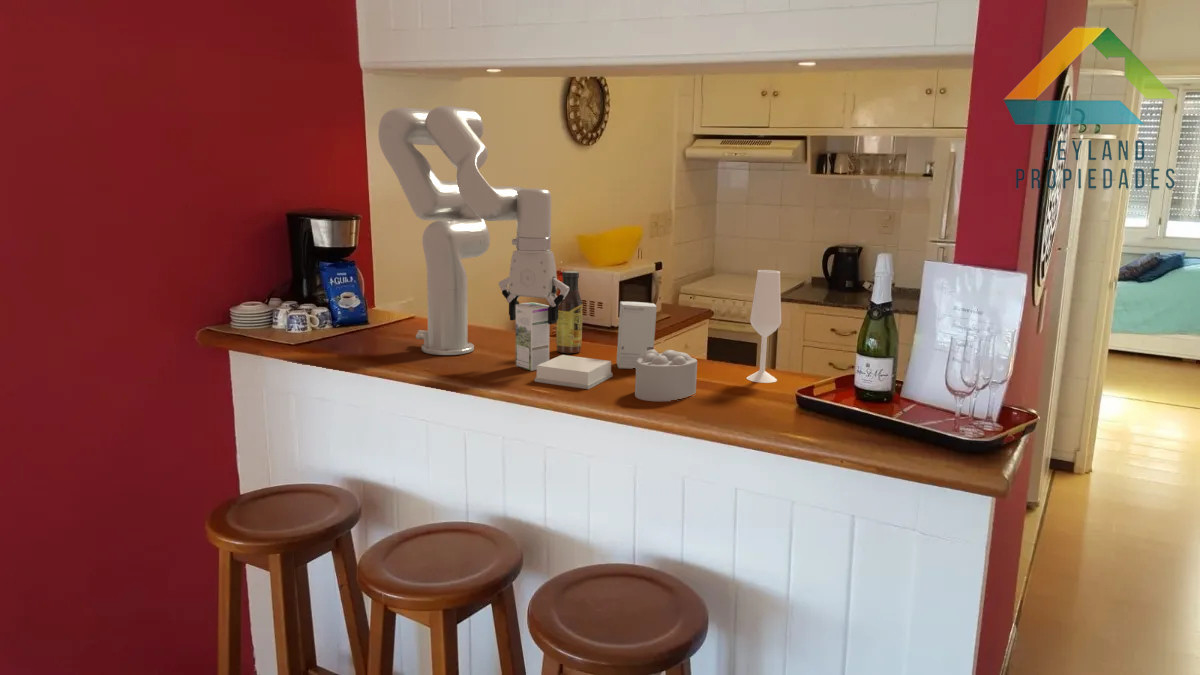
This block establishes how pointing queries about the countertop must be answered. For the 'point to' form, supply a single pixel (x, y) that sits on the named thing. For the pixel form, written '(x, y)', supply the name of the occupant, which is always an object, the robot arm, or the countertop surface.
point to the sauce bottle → (570, 317)
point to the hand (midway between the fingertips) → (533, 321)
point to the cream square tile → (574, 371)
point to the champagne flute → (765, 316)
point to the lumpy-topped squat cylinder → (665, 376)
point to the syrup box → (531, 335)
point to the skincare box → (635, 332)
